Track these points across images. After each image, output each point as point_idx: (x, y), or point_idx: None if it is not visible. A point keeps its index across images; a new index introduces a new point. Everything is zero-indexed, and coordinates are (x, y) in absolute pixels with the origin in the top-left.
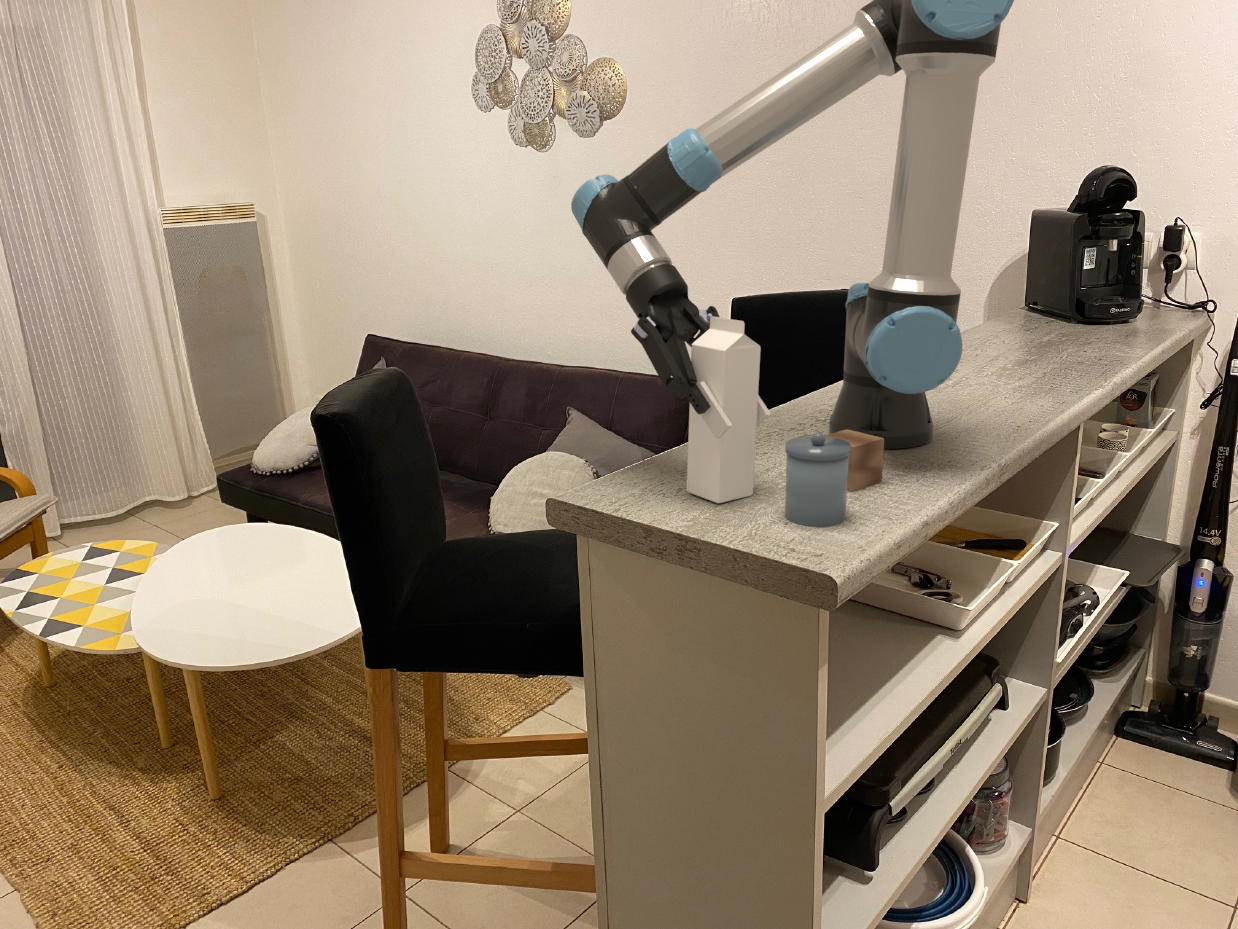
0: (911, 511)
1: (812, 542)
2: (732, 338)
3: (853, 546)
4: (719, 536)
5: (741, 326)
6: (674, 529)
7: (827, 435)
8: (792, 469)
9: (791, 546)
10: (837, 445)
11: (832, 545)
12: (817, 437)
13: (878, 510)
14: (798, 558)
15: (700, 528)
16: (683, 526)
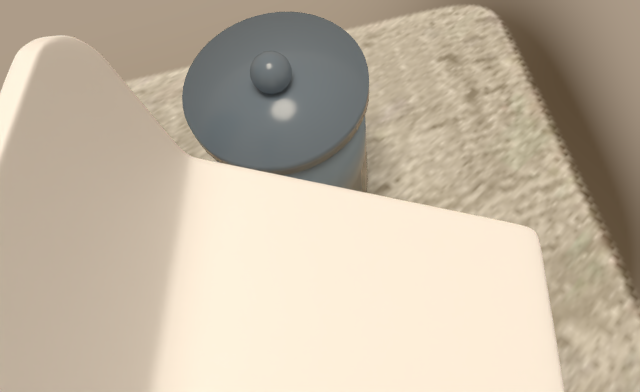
0: (156, 96)
1: (415, 98)
2: (316, 287)
3: (372, 52)
4: (554, 222)
5: (111, 142)
6: (628, 321)
7: None
8: (363, 128)
9: (461, 106)
10: (243, 50)
11: (397, 72)
12: (284, 56)
13: (190, 131)
14: (489, 67)
15: (565, 285)
16: (596, 322)
